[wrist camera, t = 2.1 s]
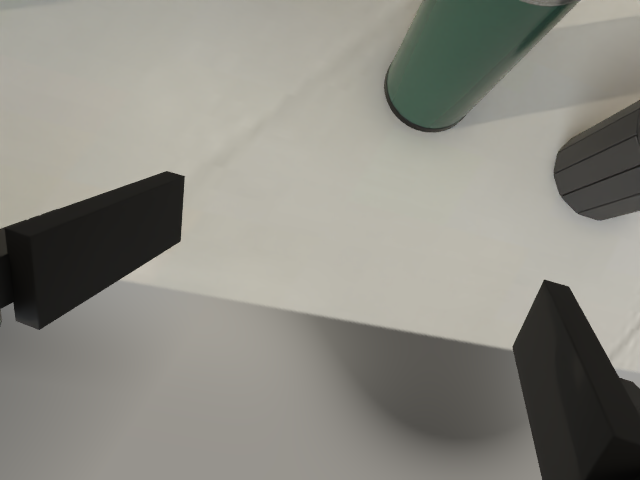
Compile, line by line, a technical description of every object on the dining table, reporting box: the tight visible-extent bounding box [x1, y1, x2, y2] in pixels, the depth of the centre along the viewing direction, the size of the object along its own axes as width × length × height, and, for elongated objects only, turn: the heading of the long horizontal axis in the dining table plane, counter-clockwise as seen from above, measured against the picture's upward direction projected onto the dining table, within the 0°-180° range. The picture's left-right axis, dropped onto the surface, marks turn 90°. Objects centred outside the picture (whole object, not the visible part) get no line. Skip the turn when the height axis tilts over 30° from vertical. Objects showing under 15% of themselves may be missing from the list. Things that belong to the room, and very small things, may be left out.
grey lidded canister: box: [554, 100, 640, 220], centre depth 36 cm, size 8×8×10 cm
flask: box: [384, 0, 580, 132], centre depth 30 cm, size 8×8×22 cm
